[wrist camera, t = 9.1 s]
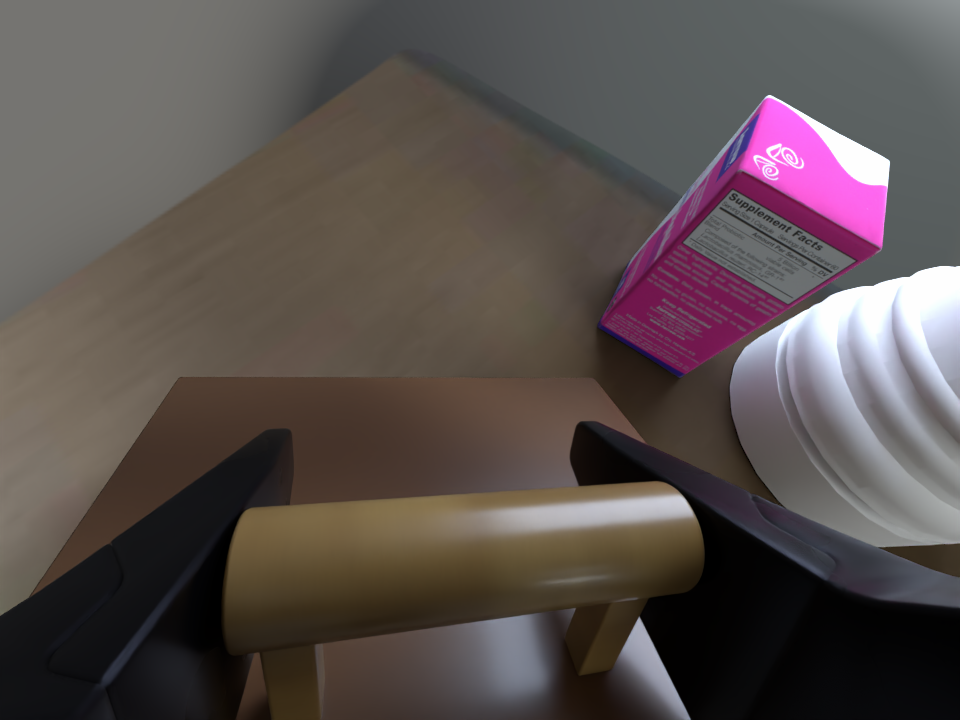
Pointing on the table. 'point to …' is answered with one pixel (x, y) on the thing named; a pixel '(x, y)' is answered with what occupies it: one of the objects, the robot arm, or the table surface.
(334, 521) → the lid
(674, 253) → the supplement box
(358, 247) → the table surface
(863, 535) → the honey pot
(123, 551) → the robot arm
